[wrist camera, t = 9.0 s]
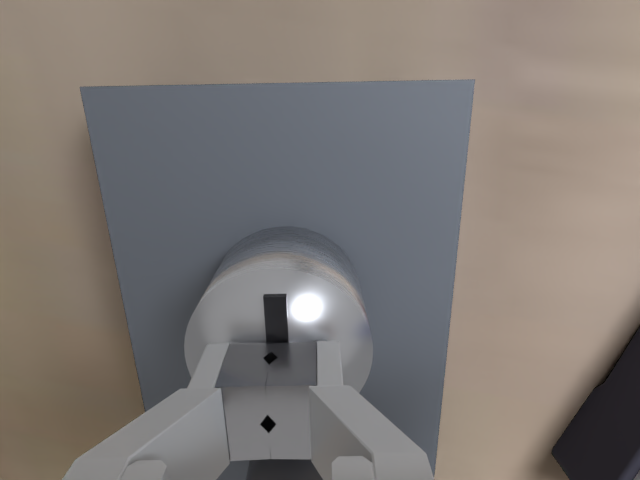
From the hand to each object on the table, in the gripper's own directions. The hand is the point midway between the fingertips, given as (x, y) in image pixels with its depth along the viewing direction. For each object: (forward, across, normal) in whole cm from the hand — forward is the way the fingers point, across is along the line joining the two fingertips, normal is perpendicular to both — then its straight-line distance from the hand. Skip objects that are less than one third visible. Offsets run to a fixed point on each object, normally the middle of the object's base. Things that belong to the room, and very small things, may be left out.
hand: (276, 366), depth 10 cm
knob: (+7, 0, 0) cm, 7 cm away
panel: (+7, 0, +6) cm, 9 cm away
